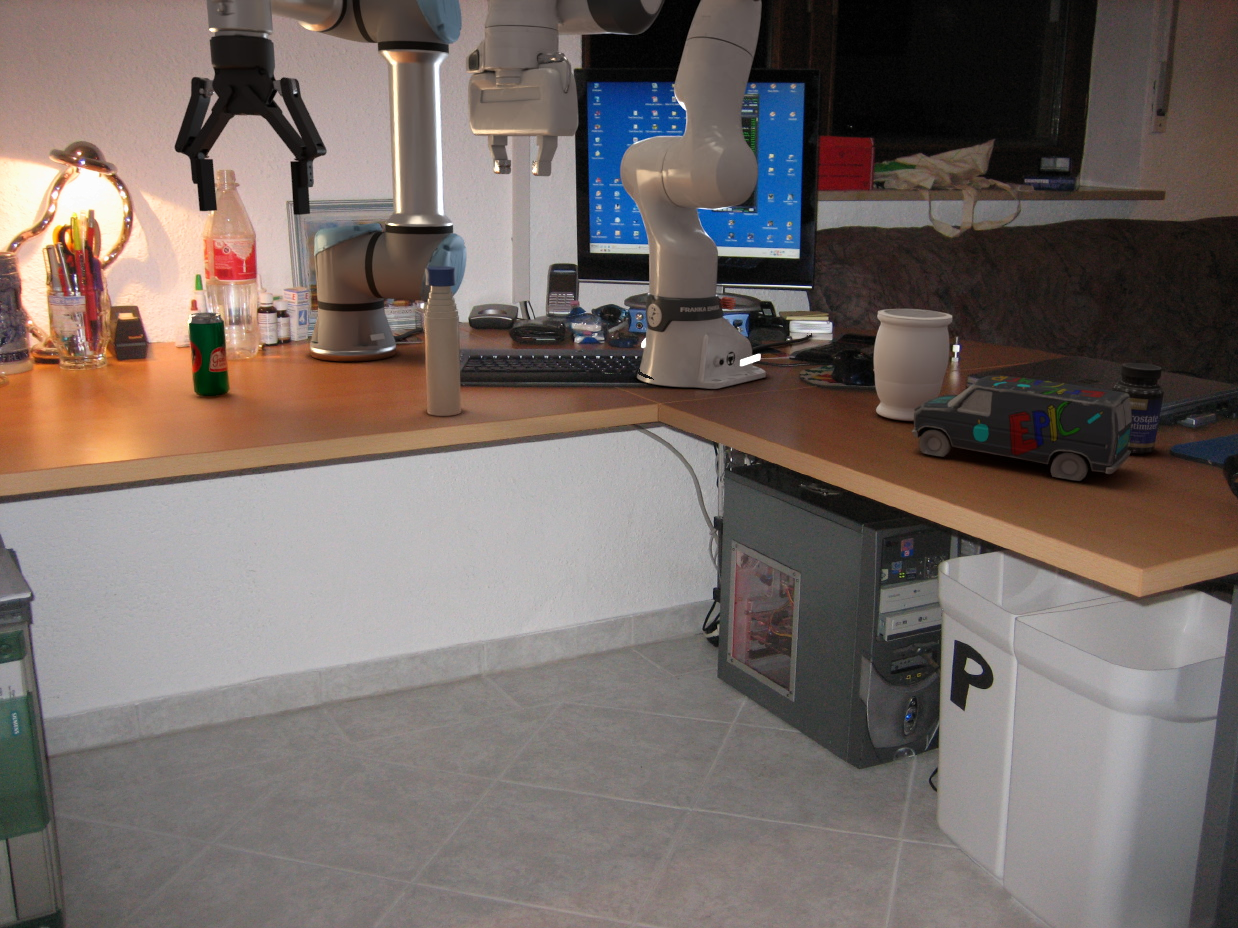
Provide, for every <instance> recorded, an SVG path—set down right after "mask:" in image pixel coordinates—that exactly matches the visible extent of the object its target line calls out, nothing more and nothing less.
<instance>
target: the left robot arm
mask: <svg viewBox="0 0 1238 928" xmlns="http://www.w3.org/2000/svg"><path fill="white" fill-rule="evenodd" d="M206 10H207V24H208V30H209V31H210V32H211V33H212V34H213V33H214V36H211V37H210V39H209V49H210V60H211V61H210V64H211V66H212V68H213V71H214V77H213V79H209V78H208V77H207V78H206V77H199V76H193V77H191V80H190V84H191V85H190V97H189V101H188V103H187V107H186V109H185V113H184V116H183V119H182V122H181V126H180V128H179V131H178V134H177V138H176V141H175V144H174V151H175V152H176V153H177V154H183V155H185V156H187V157H188V159H189V163H190V173H191V181H192V183H193V184H194V185H196V186H197V199H198V210H199V212H213V211H218V206H217V205H218V204H217V193H216V192H217V191H216V182H215V179H216V178H215V169H214V159H213V158H210V155H209V153H210V151H211V149H212V148H213V147H214V146H215V144H216V142H217V141H218V139H219V137H220V136H221V134H222V133H223V131H224V130H225V127H226V126H227V125H228V123H229V122H230V120H232V119H233V118H235V116H257V117H259V116H260V117H261V118H262V119H265V120H266V122H267V123H268V124H269V126H271V128H272V129H273V131H274V132H275V133H276V134H277V136H278V137H279V138H280V140H281V141H282V142H283V143H284V144H285V146H286V147H287V148H288V150H289V151H290V153H291V154H292V155H293V157H294V158H293V161H291V160H290V176H291V177H290V178H291V193H292V207H293V210H292V211H293V215H294V216H302V215H311V205H310V204H311V203H310V189H309V188H314V184H315V180H314V177H315V176H314V161H315V159H318V158H320V157H323V156H326V155H327V154H328V153H327V152H328V150H327V147H326V145H325V143H324V141H323V139H322V137H321V135H320V133H319V131H318V129H317V127H316V125H315V123H314V121H313V118H312V116H311V113H310V112H309V110H308V108H307V106H306V104H305V102H304V99H303V98H302V93H301V87H300V82H299V80H298V79H297V78H294V77H293V78H292V77H285V76H283V77H281V78H280V79H276V77H275V69H276V59H275V56H276V55H275V45H274V42H273V41H272V39H270V38H269V36H272V35H273V34H274V29H273V28H274V27H273V26H274V25H273V16H276V17H281V18H284V19H289V20H294V21H296V22H297V23H298V24H299V25H300V26H301V27H302V28H304V29H306V30H308V31H311V32H316V33H320V34H324V35H327V36H331V37H334V38H339V39H343V40H346V41H351V42H357V43H363V44H365V43H366V44H377V54H378V55H379V57H380V58H381V59H383V61H385V63H386V65H387V77H388V100H389V101H388V102H389V103H388V104H389V122H390V123H389V127H390V129H389V130H390V149H391V150H390V153H391V179H392V181H391V182H392V200H393V201H392V203H393V204H392V205H393V212H392V213H391V215H390V216H388V218H387V220H386V221H385V222H384V225H385V226H384V227H385V228H384V230H385V231H383V228H382V226H381V224H380V223H379V222H371V223H362V224H354V225H344V226H336V227H335V226H334V227H327V228H321V229H319V230H318V231H317V232H316V233H315V235H314V246H313V247H314V249H313V258H314V269H315V280H316V284H315V285H316V297H317V310H318V311H317V316H316V321H315V323H314V327H313V331H312V335H311V338H310V342H309V355H310V356H311V357H312V358H314V359H317V360H323V361H331V362H366V361H376V360H382V359H387V358H390V357H394V356H395V355H396V354H397V342H396V341H399V340H402V339H405V338H407V337H409V336H412V335H414V334H417V333H421V332H424V331H423V327H419V328H414V329H411V330H409V331H406V332H405V333H403V334H399V335H394V333H393V331H392V329H391V325H390V323H389V320H388V317H387V314H386V311H385V299H387V300H407V301H422V302H424V303H427V298H429V292H430V291H431V290H430V286H427V285H426V274H425V268H426V267H435V266H445V267H454V268H455V285H454V286H451V292H453V297H455V295H456V294H457V292H458V291H459V289H460V287H461V285H462V283H463V281H464V276H465V273H466V267H467V247H466V246H465V244H466V242H465V240H464V239H463V237H462V236H461V235H460V234H457V233H456V232H455V233H454V222H453V221H452V220H451V219H450V218H449V217H448V215H446V212H445V201H444V197H445V196H444V194H445V193H444V163H443V160H444V157H443V124H442V122H443V121H442V120H443V119H442V86H441V83H442V82H441V66H442V64H443V63H444V62H445V61H446V60H447V59H448V58H449V56H450V45H452V44H454V43H456V42H457V41H458V40H459V39H460V37H461V30H462V25H463V24H462V22H463V21H462V10H461V4H460V0H206ZM214 94H215V95H216V96H217V97H218V98H217V100H216V101H215V103H213V106H212V107H211V113H210V114H209V116H208V117H207V119H206V121H205V118H206V116H207V113H208V110H209V106H210V103H211V100H212V99H211V98H212V97H213V95H214ZM277 94H279V96H280V97H281V98H282V100H283V102H284V105H285V107H286V109H287V111H288V113H289V115H290V117H291V119H292V121H293V124H294V126H295V127H294V126H293V125H292V123H291V122H290V121H289V120H288V119H287V118H286V116H285V115H284V111H283V110H282V109H281V106H279V105H278V103H277V102H276V101H275V97H276V95H277ZM204 121H205V122H204ZM295 128H296V129H297V130H296V129H295Z"/></svg>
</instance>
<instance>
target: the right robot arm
mask: <svg viewBox="0 0 1238 928" xmlns="http://www.w3.org/2000/svg"><path fill="white" fill-rule="evenodd" d="M486 1H487V14H486V19H485V22H484V39H483V38H482V40H481V41H480V43H479V44H478V45H477V46H476V47H475V48H474V49H473V50H472V51H470V52H469V53H468V54H467V56H466V57H465V70H466V73H468V74H472V75H471V76H470V77H469V80H468V86H467V107H468V123H469V127H470V129H471V132H472V134H473V136H475V137H487V147H488V150H489V153H490V155H491V158H492V165H493V166H492V167H493V168H492V169H493V170H492V171H493V173H494V174H495V175H510V174H511V172H512V168H511V167H512V160H511V159H509V158H508V153H507V149H506V147H507V146H508V144H509V143H508V139H509V137H536V146H538V150H537V155H536V158H535V160H532V175H533V176H535V177H550V176H551V175H552V162H553V159H554V157H555V154H556V151H557V149H558V145H559V143H558V141H559V138H558V137H574V136H575V134H576V132H577V130H578V127H579V107H578V106H579V104H578V102H579V101H578V91H577V83H576V78H575V76H574V74H573V71H572V64H571V62H570V61H569V59H568V58H567V57H566V55H565V53H564V52H561V51H559V38H560V37H559V36H575V35H576V36H577V35H578V36H582V35H602V34H615V35H632V36H633V35H635V36H636V35H639V34H642V33H644V32H645V31H647V30H648V29H650V27H651V26H652V25H653V23H654V22H655V20H657V17H658V16H659V14H660V12H661V10H662V8H663V5H664V3H665V1H666V0H486ZM762 6H763V5H762V0H700V2H699V4H698V6H697V8H696V10H695V13H694V16H693V18H692V21H691V24H690V27H689V30H688V33H687V36H686V39H685V44H684V47H683V51H682V55H681V58H680V63H679V65H678V69H677V70H678V71H677V74H676V77H675V81H674V85H673V93H674V97H675V99H676V101H677V102H678V104H679V105H680V106H681V107H682V109H684V110H685V116H686V117H685V119H686V122H685V123H686V124H685V130H684V133H683V135H656V136H653V137H648V138H645V139H642V140H639V141H637V142H634V143H632V144H631V145H629V147H628V148H626V150H625V152H624V154H623V156H622V158H621V162H620V167H619V174H620V181H621V183H622V187H623V189H624V190H625V192H626V193H627V195H628V196H629V197H630V198H631V199H632V200H633V202H634V203H635V205H636V207H637V209H638V211H639V214H640V215H641V220H642V222H643V225H644V229H645V233H646V237H647V243H648V256H649V257H648V260H649V261H648V265H649V267H648V268H649V274H648V275H649V276H648V277H649V280H648V292H647V293H646V298H645V320H646V333H645V338H644V339H643V341H642V342H641V348H642V349H643V351H642V357H641V362H640V365H639V369H640V372H642V373H643V374H646V375H648V376H650V377H652V378H653V379H654V380H653V379H649V378H645V377H643V376H641V375H639V374H638V373H637V374H636V378H637V379H638V380H639V381H641V382H644V383H646V384H647V383H648V384H652V385H655V386H656V385H657V386H664V387H674V388H699V389H706V390H707V389H709V390H717V389H722V388H727V387H730V386H734V385H739V384H743V383H748V382H751V381H752V382H753V381H755V380H759V379H760V380H761V379H763V378H766V377H767V372H766V371H765V370H764V369H763V368H760V367H759V366H756V365H753V364H754V363H755V362H758V361H760V360H761V353H757V354H754V355H753V352H756V351H760V350H763V349H767V348H773V347H774V348H775V347H781V346H786V345H792V344H798V343H803V342H806V341H808V340H809V339H810V338H812V337H813V333H811V335H809V336H808V335H807V334H806V336H803V337H800V338H795V339H790V340H784V341H778V342H771V343H765V344H761V345H756V346H754V347H752V344H751V341H750V340H749V338H747V336H746V335H744V334H743V333H742V332H741V331H739V330H738V329H737V328H736V327H735V326H734V325H732V323H730V321H728V320H727V318H725V317H724V316H725V314H724V310H725V309H727V310H730V311H733V310H734V309H735V307H736V305H737V302H736V301H737V300H736V299H735V298H734V297H728V296H722V298H721V297H719V295H718V294H717V290H718V289H717V288H718V287H717V285H718V265H719V263H718V262H719V250H718V246H717V244H716V242H715V241H714V240H713V239H712V237H710V236H709V235H708V233H707V232H706V231H705V229H704V228H703V226H702V223H701V220H700V217H699V213H698V211H699V210H698V209H702V210H722V209H727V208H731V207H736V206H739V205H742V204H744V203H745V202H746V201H748V200H749V198H750V197H751V196H752V194H753V193H754V191H755V188H756V186H757V182H758V179H759V178H758V177H759V165H758V161H757V157H756V155H755V153H754V151H753V149H752V148H751V147H750V146H749V145H748V143H747V141H746V139H745V135H744V131H743V122H742V121H743V120H742V111H743V105H744V100H745V99H744V98H745V94H746V91H747V90H746V89H747V86H748V82H749V77H750V74H751V69H752V66H753V62H754V58H755V55H756V50H757V46H758V41H759V36H760V35H759V34H760V27H761V18H762ZM723 309H724V310H723Z"/></svg>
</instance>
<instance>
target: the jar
mask: <svg viewBox="0 0 1238 928" xmlns="http://www.w3.org/2000/svg"><path fill="white" fill-rule="evenodd" d="M877 319H878V321H880V325H879V327H878V329H877V334H876V337H875V342H874V347H873V372H874V384H875V385H874V386H875V391H876V395H877V398H878V399H879V401H880V402H879V404H877V405H878V406H877V407H876V409H875V412H876V413H877V415H879V416H881V417H884V418H887V419H889V420H890V419H891V420H896V421H903V422H914V412H915V410H914V409H915V408H917V407H918V406H920V405H921V404H923V403H925V402H927V401H929V400H932V399H934V398H937V397H940V393H941V391H942V388H943V384H944V378H945V377H946V376H945V375H946V373H947V369H948V364H949V360H950V359H949V357H950V334H949V327H948V326H949V325H951V324H952V323H953V315H952V314H950V313H947V312H943V311H936V310H929V309H918V308H888V309H880V310H878V311H877Z"/></svg>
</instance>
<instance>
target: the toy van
mask: <svg viewBox="0 0 1238 928" xmlns="http://www.w3.org/2000/svg"><path fill="white" fill-rule="evenodd" d="M914 410H915V412H914V421H913V429H912V430H911V433H912V435H913V438H914V439H918V438H919V439H918V447H919V450H920V452H921V453H922V454H926V455H930V456H934V457H935V456H936V457H942V458H945V457H946V456H947V455H948V454H949V453H950V452H951V450H952V448H958V449H962V450H963V449H964V450H969V451H974V452H978V453H979V452H980V453H984V454H985V453H986V454H990V455H996V456H1002V457H1007V458H1012V459H1013V458H1014V459H1019V460H1024V461H1029V462H1033V463H1039V464H1043V465H1044V464H1045V465H1048V464H1049V465H1050V463H1051V465H1050V475H1051V476H1052V478H1058V479H1065V480H1069V481H1077V482H1080V481H1082V480H1083V479H1085V478H1086V476H1087V474H1088V472H1089V469H1091V472H1098V473H1105V474H1107V475H1112V474H1113V473H1115V472H1116V471H1117V470H1118V469H1119V468H1120V467H1121V466H1122V465H1123V464H1124V463H1125V462H1126V461H1127V460H1128V458H1129V457H1130V455H1131V454H1132V453H1131V451H1130V450H1128V446H1129V445H1130V442H1129V440H1130V436H1131V430H1132V427H1133V423H1132V414H1131V405H1130V396H1129V394H1127V393H1124V392H1118V391H1112V389H1111V390H1110V389H1104V388H1097V387H1090V386H1084V385H1078V384H1071V383H1064V382H1058V381H1051V380H1043V379H1036V378H1030V377H1029V378H1028V377H1019V376H1009V375H1007V376H1006V375H999V374H997V375H996V374H995V375H987V376H984V377H980V378H979V379H977V380H976V381H975V382H973V383H972V384H971V385H970V386H968V387H967V388H966V389H965V390H963V391H962V392H960V393H958V394H943V395H939V396H938V397H937V398H934V399H932V400H929V401H927V402H925V403H923V404H921V405H920V406H918V407H917V408H915V409H914Z"/></svg>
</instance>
